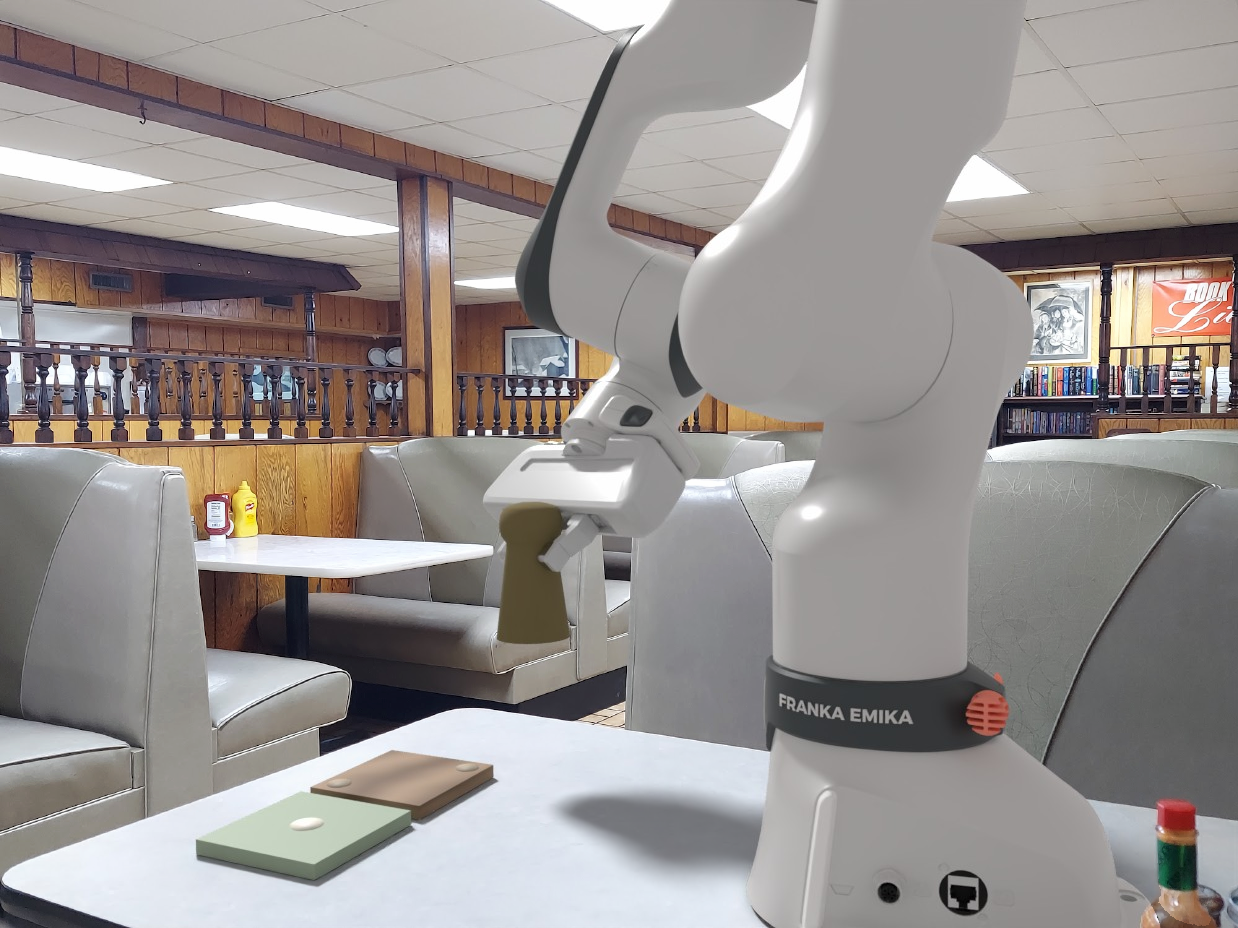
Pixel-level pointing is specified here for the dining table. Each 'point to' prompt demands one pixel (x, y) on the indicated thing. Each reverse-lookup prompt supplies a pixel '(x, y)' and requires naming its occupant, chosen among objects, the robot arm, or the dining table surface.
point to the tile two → (407, 781)
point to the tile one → (304, 834)
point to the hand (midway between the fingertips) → (525, 564)
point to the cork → (530, 577)
